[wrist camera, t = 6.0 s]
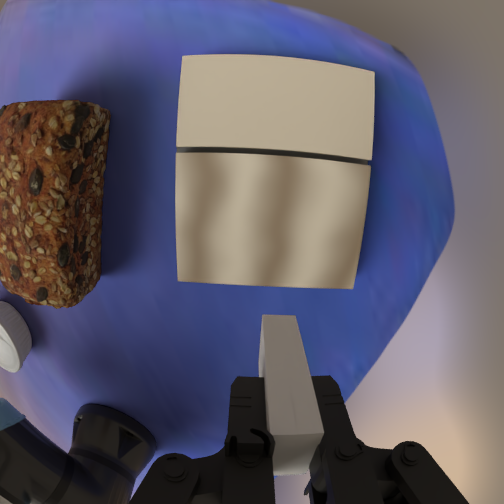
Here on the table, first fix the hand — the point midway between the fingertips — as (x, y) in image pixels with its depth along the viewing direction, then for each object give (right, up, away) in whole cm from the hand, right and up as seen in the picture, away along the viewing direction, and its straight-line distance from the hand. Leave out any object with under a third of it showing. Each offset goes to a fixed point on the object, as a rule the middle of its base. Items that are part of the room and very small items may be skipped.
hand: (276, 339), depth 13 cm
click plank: (+1, +7, +12) cm, 14 cm away
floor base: (+1, +11, +12) cm, 16 cm away
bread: (-21, +10, +13) cm, 26 cm away
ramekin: (-39, -7, +19) cm, 44 cm away
